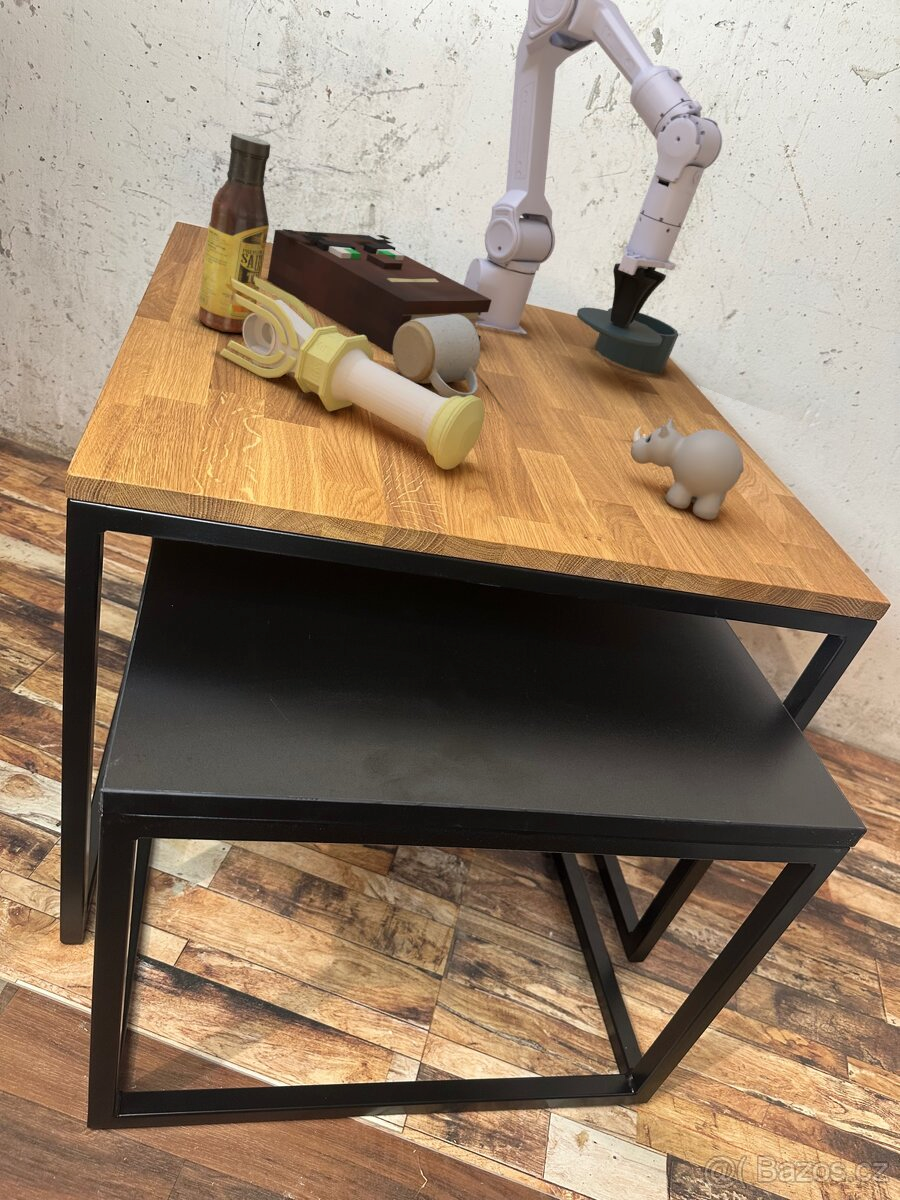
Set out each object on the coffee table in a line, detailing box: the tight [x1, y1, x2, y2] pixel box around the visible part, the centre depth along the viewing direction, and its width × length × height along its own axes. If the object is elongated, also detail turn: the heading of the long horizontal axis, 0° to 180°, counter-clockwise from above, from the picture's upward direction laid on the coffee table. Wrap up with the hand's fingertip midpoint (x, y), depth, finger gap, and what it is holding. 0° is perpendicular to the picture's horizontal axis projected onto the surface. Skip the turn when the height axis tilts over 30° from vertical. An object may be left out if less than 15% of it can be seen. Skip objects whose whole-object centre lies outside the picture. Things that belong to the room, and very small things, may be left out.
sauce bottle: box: [198, 132, 271, 334], centre depth 95 cm, size 7×6×20 cm
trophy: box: [219, 276, 486, 470], centre depth 87 cm, size 8×8×30 cm
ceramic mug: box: [392, 314, 481, 398], centre depth 101 cm, size 11×8×8 cm
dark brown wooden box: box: [266, 228, 492, 356], centre depth 118 cm, size 19×8×30 cm
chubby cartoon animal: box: [630, 418, 745, 521], centre depth 92 cm, size 7×12×8 cm, turn 62°
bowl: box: [594, 307, 679, 374], centre depth 134 cm, size 11×11×6 cm
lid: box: [576, 307, 662, 346], centre depth 118 cm, size 12×12×5 cm
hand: (620, 322), depth 119 cm, fingers closed on lid, 2 cm apart
